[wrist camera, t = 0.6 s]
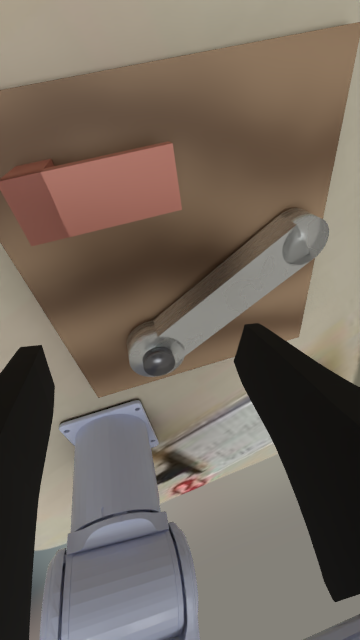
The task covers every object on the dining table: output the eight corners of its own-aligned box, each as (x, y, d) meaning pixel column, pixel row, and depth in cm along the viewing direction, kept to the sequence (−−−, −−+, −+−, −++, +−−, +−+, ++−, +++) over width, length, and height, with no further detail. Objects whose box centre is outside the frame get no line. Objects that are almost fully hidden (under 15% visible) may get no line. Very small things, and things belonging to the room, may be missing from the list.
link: (152, 366, 22) (157, 391, 20) (115, 344, 19) (117, 370, 18) (318, 237, 18) (344, 253, 16) (298, 190, 16) (326, 202, 14)
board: (292, 330, 26) (298, 336, 25) (98, 388, 24) (98, 397, 23) (346, 26, 13) (362, 21, 12) (-73, 106, 11) (-86, 106, 10)
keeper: (166, 191, 14) (182, 209, 12) (42, 221, 14) (31, 246, 11) (157, 135, 13) (172, 143, 10) (15, 166, 12) (-4, 182, 10)
